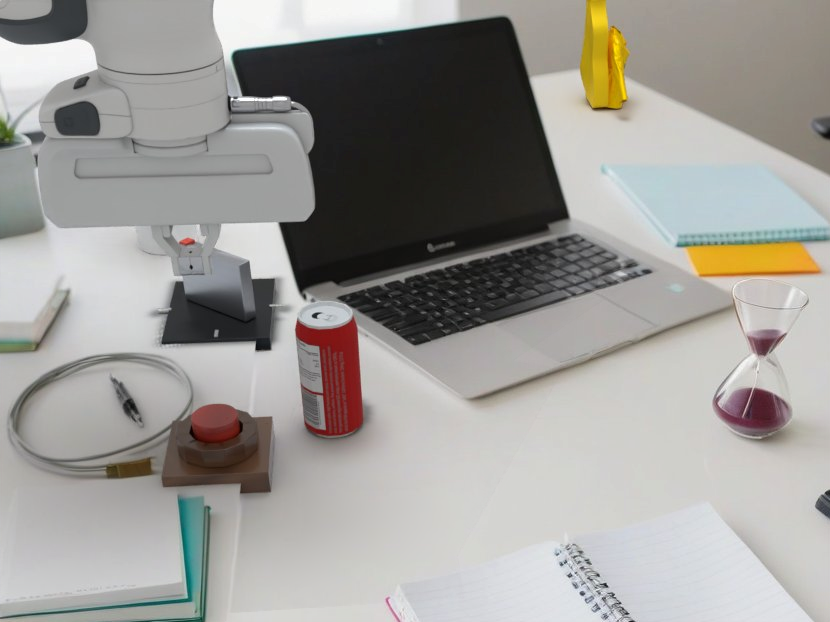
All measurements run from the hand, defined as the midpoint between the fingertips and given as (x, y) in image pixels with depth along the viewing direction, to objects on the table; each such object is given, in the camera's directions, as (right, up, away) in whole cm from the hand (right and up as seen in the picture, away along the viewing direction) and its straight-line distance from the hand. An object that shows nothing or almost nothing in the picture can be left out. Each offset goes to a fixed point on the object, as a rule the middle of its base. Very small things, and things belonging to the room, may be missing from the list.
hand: (193, 272), depth 93 cm
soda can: (+9, -11, +17) cm, 22 cm away
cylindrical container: (-17, +14, +49) cm, 53 cm away
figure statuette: (+40, +47, +96) cm, 114 cm away
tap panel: (-6, +2, +33) cm, 34 cm away
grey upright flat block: (-6, +3, +32) cm, 33 cm away
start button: (0, -12, +9) cm, 15 cm away
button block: (-1, -15, +11) cm, 19 cm away
